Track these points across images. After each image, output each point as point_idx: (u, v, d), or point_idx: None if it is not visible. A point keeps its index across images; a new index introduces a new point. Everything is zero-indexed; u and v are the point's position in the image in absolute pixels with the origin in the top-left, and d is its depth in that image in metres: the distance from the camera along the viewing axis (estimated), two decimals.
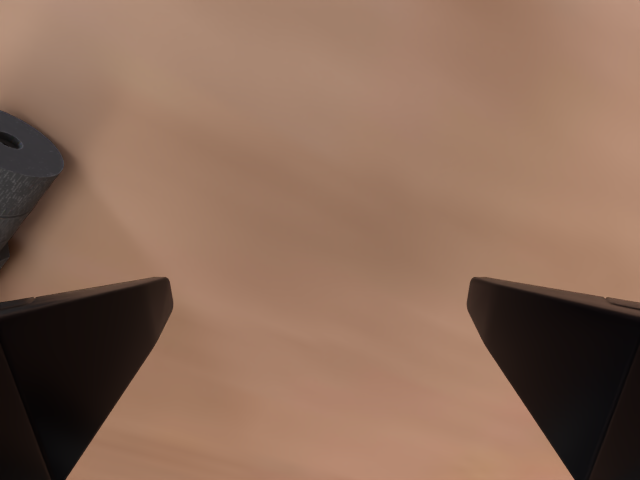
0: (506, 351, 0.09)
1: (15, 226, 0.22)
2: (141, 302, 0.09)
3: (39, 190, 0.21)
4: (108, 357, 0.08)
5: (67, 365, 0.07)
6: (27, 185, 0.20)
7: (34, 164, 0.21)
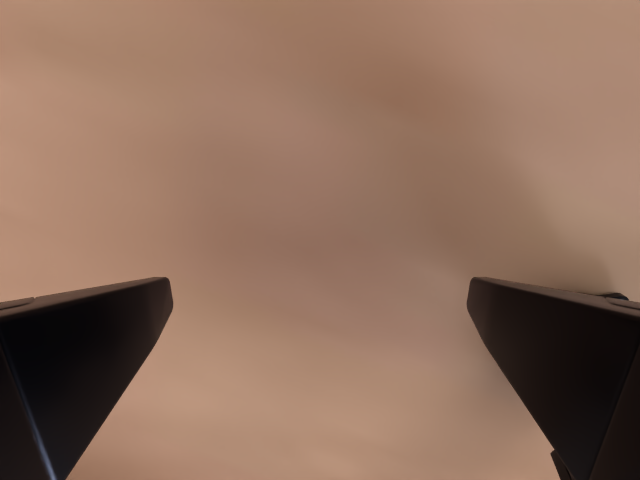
0: (506, 351, 0.09)
1: None
2: (141, 302, 0.09)
3: None
4: (108, 357, 0.08)
5: (67, 365, 0.07)
6: None
7: None
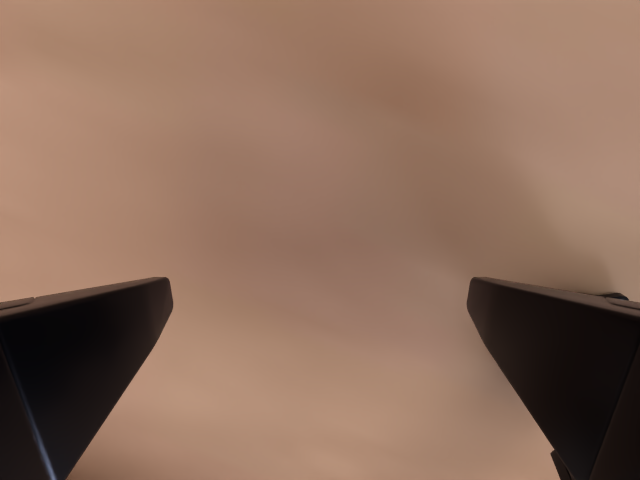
0: (506, 351, 0.09)
1: None
2: (141, 302, 0.09)
3: None
4: (108, 357, 0.08)
5: (67, 365, 0.07)
6: None
7: None
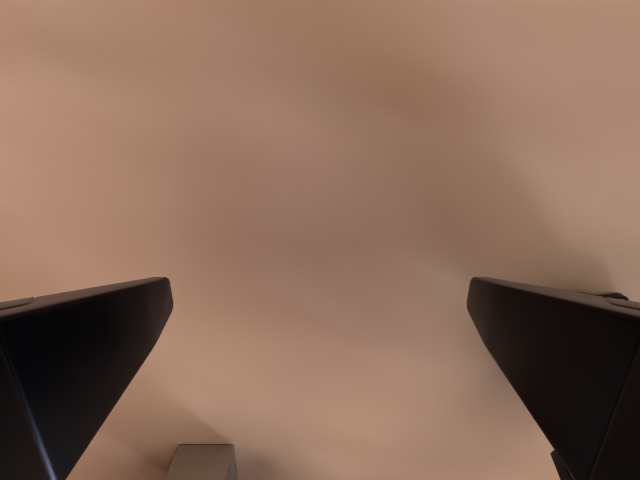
0: (506, 351, 0.09)
1: None
2: (141, 302, 0.09)
3: None
4: (108, 357, 0.08)
5: (67, 365, 0.07)
6: None
7: None
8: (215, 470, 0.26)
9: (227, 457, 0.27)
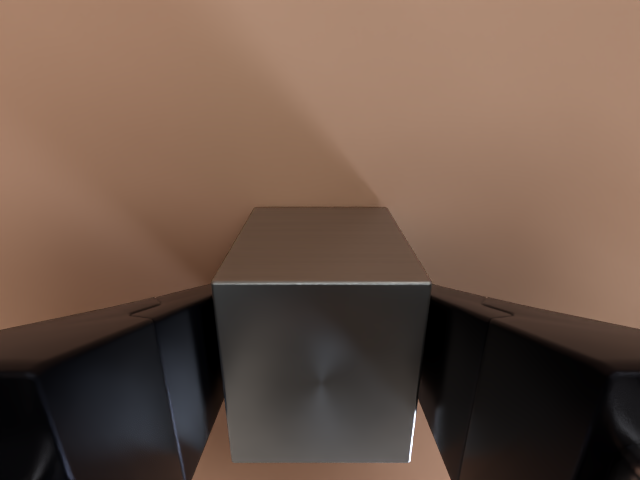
0: None
1: None
2: None
3: None
4: (218, 357, 0.08)
5: (195, 365, 0.07)
6: None
7: None
8: (369, 229, 0.09)
9: (387, 217, 0.10)
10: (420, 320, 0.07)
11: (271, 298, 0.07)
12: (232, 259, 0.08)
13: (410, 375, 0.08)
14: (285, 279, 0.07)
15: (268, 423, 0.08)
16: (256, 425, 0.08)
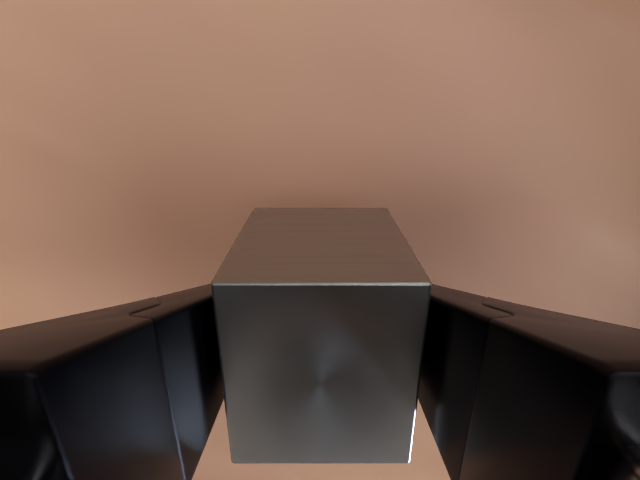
0: None
1: None
2: None
3: None
4: (218, 357, 0.08)
5: (195, 365, 0.07)
6: None
7: None
8: (369, 230, 0.09)
9: (387, 218, 0.10)
10: (420, 321, 0.07)
11: (271, 300, 0.07)
12: (232, 259, 0.08)
13: (410, 376, 0.08)
14: (285, 281, 0.07)
15: (268, 424, 0.08)
16: (256, 426, 0.08)
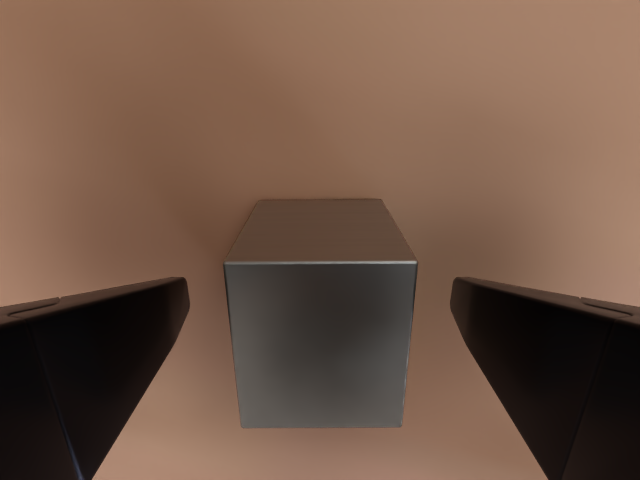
0: (485, 351, 0.09)
1: None
2: (161, 302, 0.09)
3: None
4: (131, 357, 0.08)
5: (94, 365, 0.07)
6: None
7: None
8: (364, 218, 0.10)
9: (381, 208, 0.11)
10: (408, 295, 0.08)
11: (276, 276, 0.08)
12: (241, 243, 0.09)
13: (400, 345, 0.09)
14: (289, 260, 0.08)
15: (274, 391, 0.09)
16: (263, 393, 0.09)
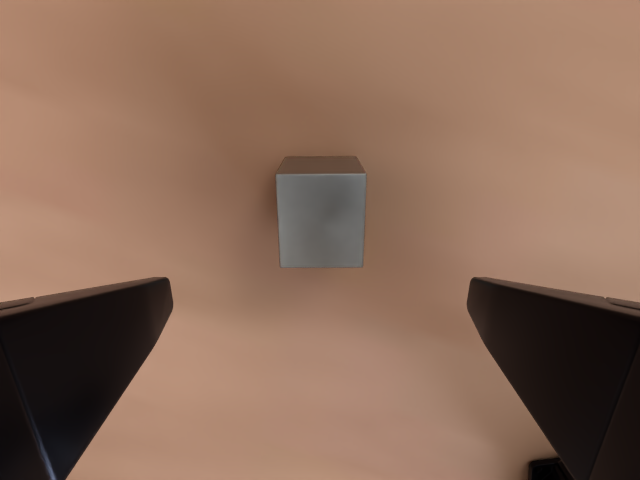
0: (506, 351, 0.09)
1: None
2: (141, 302, 0.09)
3: None
4: (108, 357, 0.08)
5: (67, 365, 0.07)
6: None
7: None
8: (344, 162, 0.19)
9: (355, 159, 0.20)
10: (363, 191, 0.17)
11: (300, 181, 0.17)
12: (281, 169, 0.18)
13: (360, 218, 0.17)
14: (306, 173, 0.17)
15: (297, 244, 0.18)
16: (292, 246, 0.18)
